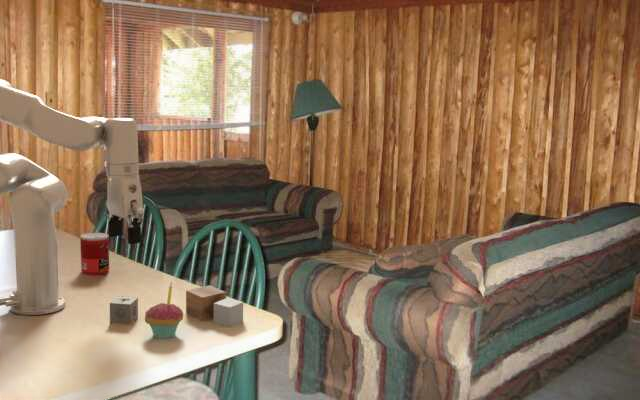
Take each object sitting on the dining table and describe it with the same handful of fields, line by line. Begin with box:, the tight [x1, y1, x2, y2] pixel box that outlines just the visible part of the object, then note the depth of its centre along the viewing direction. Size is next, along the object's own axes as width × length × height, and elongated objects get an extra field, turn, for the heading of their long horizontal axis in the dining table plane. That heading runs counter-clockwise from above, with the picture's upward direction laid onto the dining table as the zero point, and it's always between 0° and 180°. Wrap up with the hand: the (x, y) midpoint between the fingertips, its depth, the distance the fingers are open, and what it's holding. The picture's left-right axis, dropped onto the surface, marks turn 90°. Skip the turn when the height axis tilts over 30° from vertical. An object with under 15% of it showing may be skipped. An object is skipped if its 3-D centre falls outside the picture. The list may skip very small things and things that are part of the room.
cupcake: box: [144, 281, 184, 339], centre depth 157 cm, size 9×8×12 cm
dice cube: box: [109, 296, 139, 325], centre depth 166 cm, size 5×5×5 cm
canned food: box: [79, 232, 110, 276], centre depth 204 cm, size 8×8×11 cm
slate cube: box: [213, 297, 244, 328], centre depth 167 cm, size 5×5×5 cm
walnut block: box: [185, 285, 227, 322], centre depth 172 cm, size 7×7×6 cm
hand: (125, 239), depth 169 cm, fingers open, 9 cm apart
